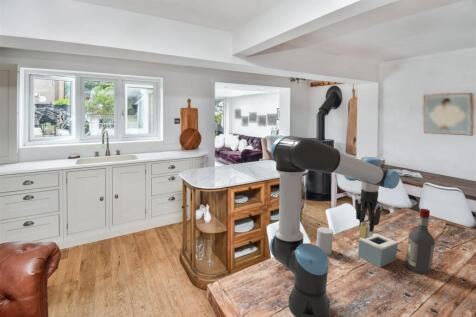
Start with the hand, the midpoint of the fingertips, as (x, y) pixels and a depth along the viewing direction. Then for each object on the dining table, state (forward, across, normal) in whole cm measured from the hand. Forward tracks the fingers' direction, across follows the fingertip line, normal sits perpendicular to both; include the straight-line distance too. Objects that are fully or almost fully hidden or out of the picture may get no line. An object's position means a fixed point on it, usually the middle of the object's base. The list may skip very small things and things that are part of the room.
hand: (365, 235), depth 130 cm
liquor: (+15, -16, -20) cm, 30 cm away
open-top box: (+15, 0, -11) cm, 19 cm away
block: (+1, 0, 0) cm, 1 cm away
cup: (+15, +19, +8) cm, 25 cm away
